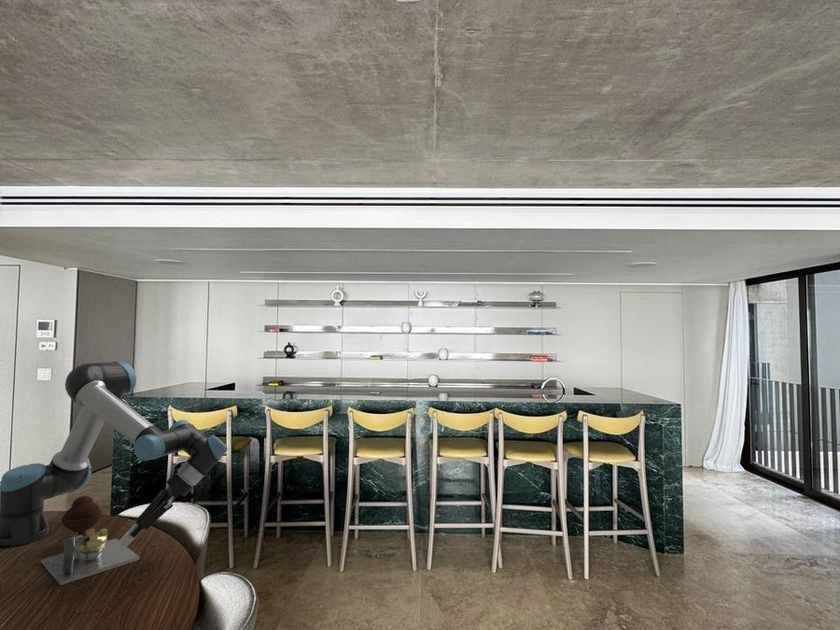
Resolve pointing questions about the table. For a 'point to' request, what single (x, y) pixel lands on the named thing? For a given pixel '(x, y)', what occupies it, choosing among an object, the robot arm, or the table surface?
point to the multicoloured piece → (82, 546)
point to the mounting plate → (90, 562)
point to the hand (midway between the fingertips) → (122, 544)
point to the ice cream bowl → (82, 515)
